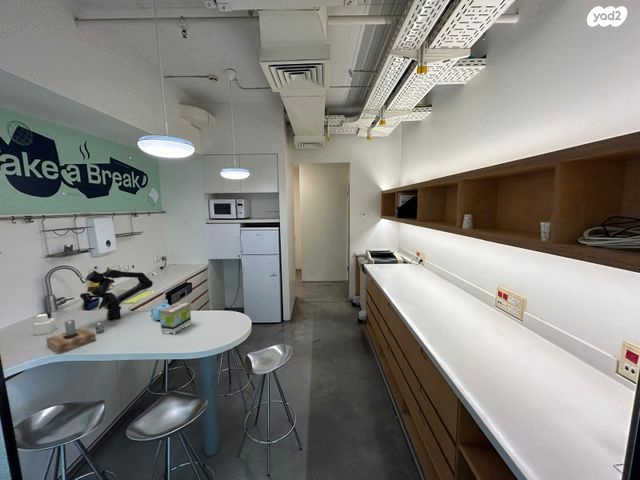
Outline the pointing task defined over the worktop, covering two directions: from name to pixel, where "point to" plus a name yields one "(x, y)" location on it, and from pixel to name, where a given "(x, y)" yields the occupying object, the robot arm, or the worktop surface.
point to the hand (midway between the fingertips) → (91, 308)
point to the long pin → (70, 329)
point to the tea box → (175, 317)
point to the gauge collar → (70, 340)
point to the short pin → (99, 327)
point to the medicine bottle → (44, 324)
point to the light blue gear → (158, 310)
